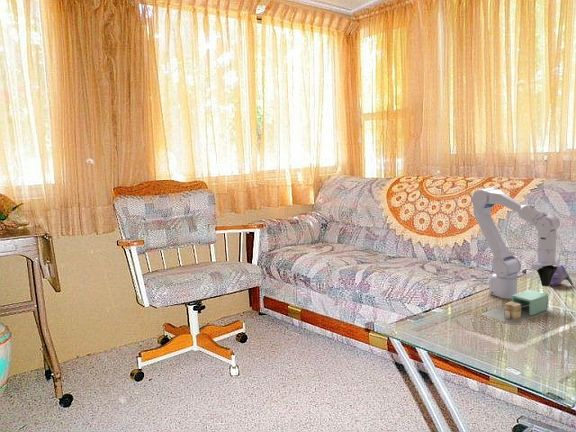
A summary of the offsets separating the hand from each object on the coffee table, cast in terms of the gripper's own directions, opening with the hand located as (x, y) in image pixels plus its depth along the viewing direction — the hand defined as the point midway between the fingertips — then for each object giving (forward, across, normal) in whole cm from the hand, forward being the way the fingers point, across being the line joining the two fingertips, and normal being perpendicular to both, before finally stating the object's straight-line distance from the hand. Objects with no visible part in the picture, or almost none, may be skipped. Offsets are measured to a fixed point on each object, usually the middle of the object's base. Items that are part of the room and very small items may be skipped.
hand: (545, 285), depth 169 cm
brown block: (+7, -19, 0) cm, 21 cm away
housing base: (+8, -15, +2) cm, 17 cm away
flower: (+9, +30, +12) cm, 34 cm away
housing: (+7, -10, 0) cm, 12 cm away
